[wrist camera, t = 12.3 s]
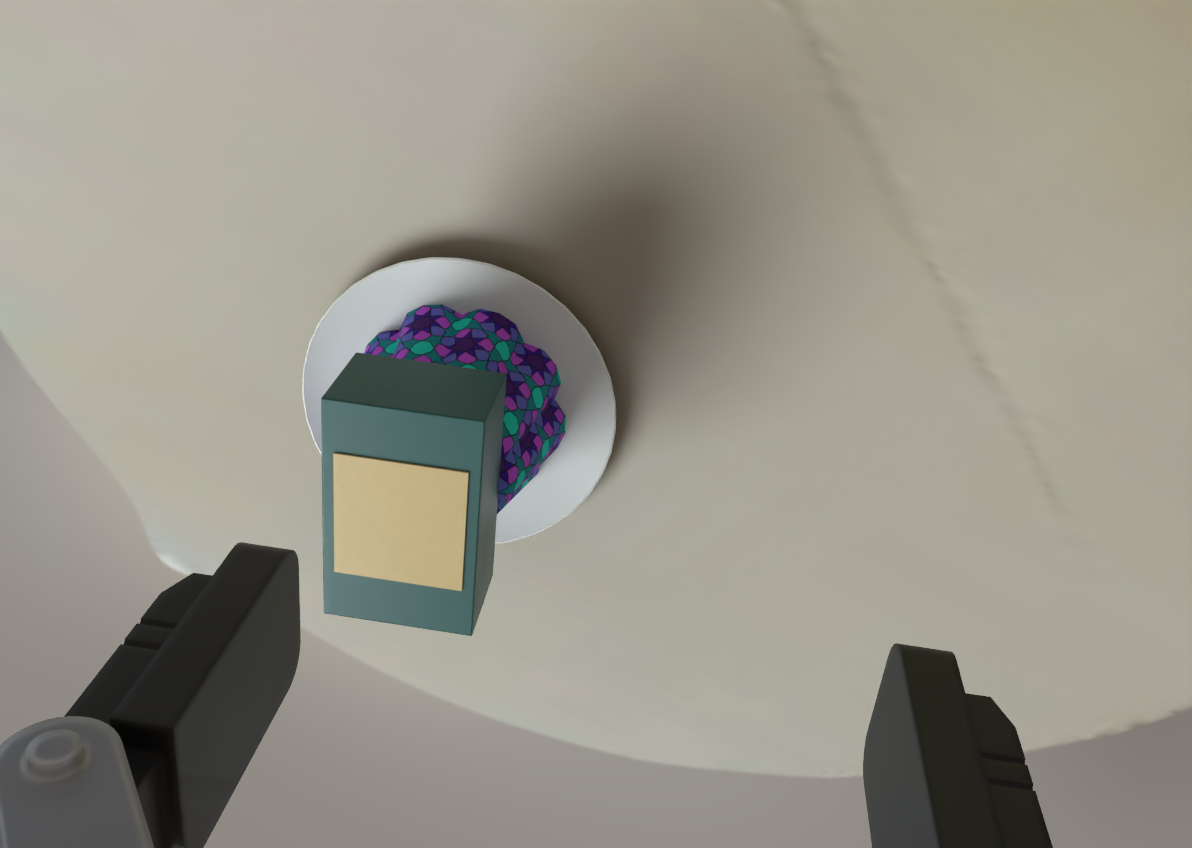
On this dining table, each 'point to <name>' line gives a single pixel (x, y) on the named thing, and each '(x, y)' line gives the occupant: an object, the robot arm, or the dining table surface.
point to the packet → (410, 491)
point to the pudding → (492, 343)
